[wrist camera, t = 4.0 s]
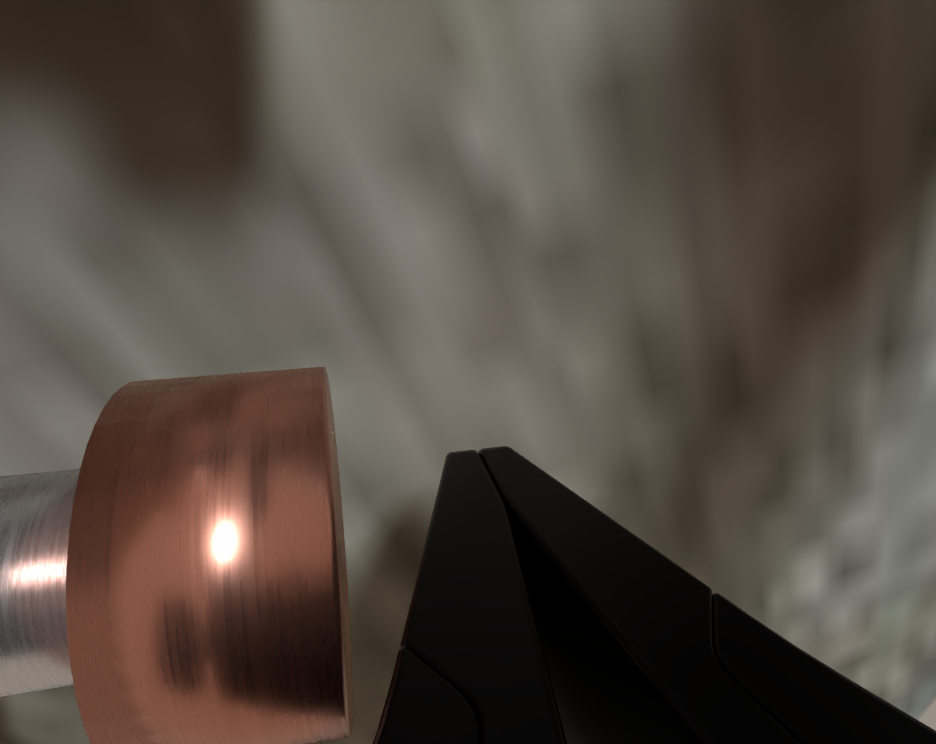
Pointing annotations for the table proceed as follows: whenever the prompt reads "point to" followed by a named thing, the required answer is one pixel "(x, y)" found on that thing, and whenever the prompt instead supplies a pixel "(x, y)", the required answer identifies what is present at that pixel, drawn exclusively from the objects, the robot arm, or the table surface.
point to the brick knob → (187, 567)
